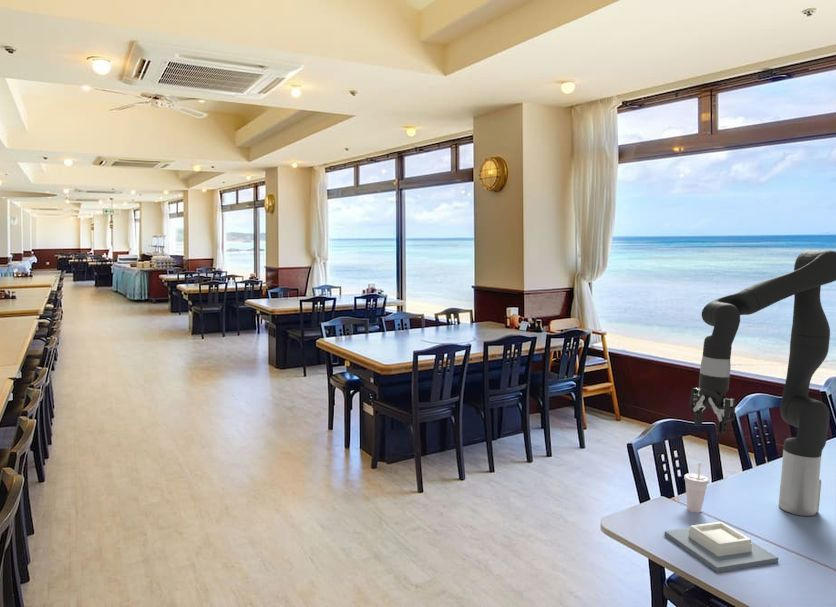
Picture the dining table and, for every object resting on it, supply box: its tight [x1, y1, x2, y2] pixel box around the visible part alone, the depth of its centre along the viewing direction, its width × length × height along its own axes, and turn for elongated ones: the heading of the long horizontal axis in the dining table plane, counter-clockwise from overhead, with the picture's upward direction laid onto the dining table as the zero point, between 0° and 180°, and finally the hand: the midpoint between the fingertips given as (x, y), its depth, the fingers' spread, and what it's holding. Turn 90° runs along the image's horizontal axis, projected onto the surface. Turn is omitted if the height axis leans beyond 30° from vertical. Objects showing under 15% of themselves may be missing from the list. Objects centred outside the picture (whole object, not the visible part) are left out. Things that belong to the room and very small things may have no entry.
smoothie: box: [683, 462, 709, 513], centre depth 169 cm, size 6×6×14 cm
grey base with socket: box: [664, 521, 779, 573], centre depth 147 cm, size 18×18×4 cm
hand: (709, 429), depth 167 cm, fingers open, 8 cm apart
